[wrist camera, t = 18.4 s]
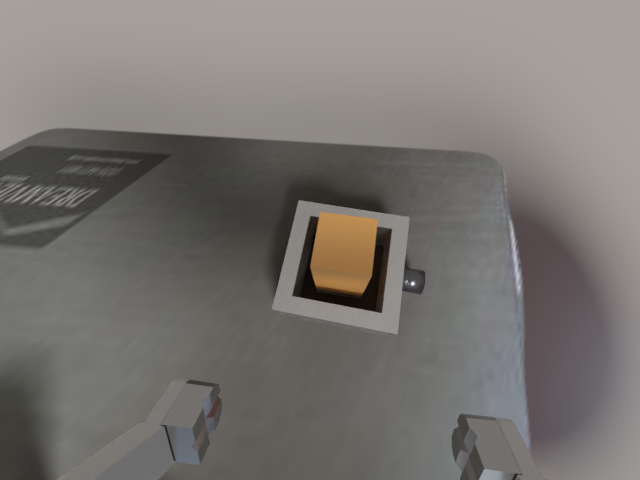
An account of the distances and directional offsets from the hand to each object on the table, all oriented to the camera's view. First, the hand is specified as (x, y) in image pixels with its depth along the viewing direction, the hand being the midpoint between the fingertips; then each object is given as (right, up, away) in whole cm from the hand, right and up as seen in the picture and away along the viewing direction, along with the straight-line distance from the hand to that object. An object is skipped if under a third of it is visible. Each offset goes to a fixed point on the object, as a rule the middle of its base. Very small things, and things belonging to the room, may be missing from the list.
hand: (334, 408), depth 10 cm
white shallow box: (+2, +2, +18) cm, 18 cm away
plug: (+2, +2, +18) cm, 18 cm away
